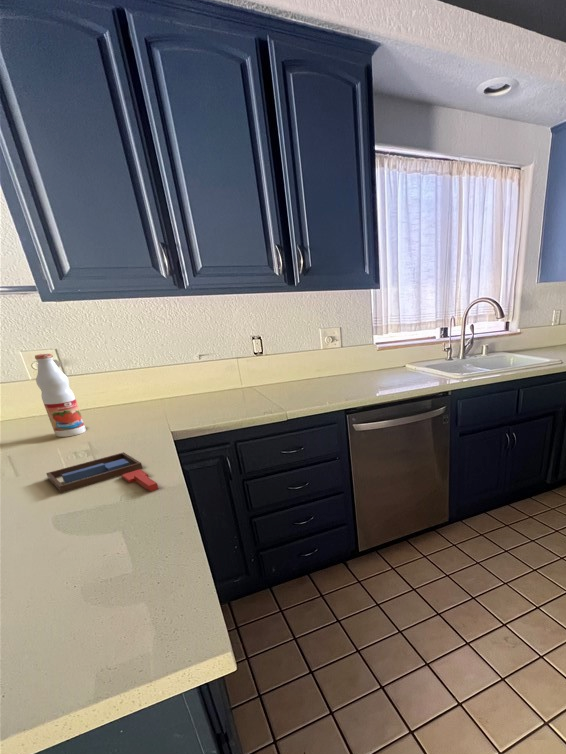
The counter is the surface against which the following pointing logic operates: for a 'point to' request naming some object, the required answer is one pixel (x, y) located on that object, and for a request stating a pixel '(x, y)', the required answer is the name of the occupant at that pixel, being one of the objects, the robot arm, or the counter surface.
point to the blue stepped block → (94, 470)
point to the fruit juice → (58, 398)
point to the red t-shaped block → (141, 479)
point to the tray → (97, 478)
